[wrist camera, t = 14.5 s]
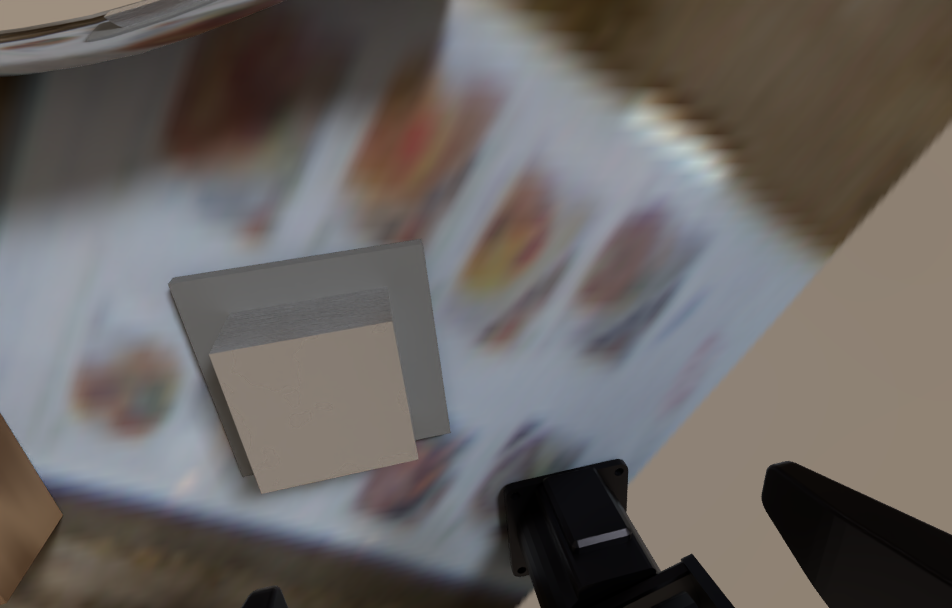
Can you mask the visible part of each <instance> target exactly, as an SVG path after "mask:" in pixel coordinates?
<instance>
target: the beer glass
mask: <svg viewBox="0 0 952 608" xmlns="http://www.w3.org/2000/svg"><path fill="white" fill-rule="evenodd" d="M284 1H286V0H0V77H8V76H17V75H27V74H35V73H41V72H48V71H55V70H61V69H68V68H74V67H81V66H87V65H92V64H96V63H101V62H105V61H110V60H115V59H119V58H124V57H128V56H133V55H137V54H142V53H145V52H148V51H151V50H154V49H157V48H161V47H164V46H167V45H170V44H173V43H176V42H179V41H182V40H185V39H188V38H191V37H194V36H197V35H200V34H202V33H205V32H207V31H210V30H213V29H215V28H218V27H220V26H223V25H226V24H228V23H231V22H233V21H236V20H239V19H241V18H244V17H246V16H249V15H251V14H254V13H256V12H259V11H261V10H264V9H266V8H269V7H271V6H274V5H276V4H279V3H281V2H284Z"/></svg>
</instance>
